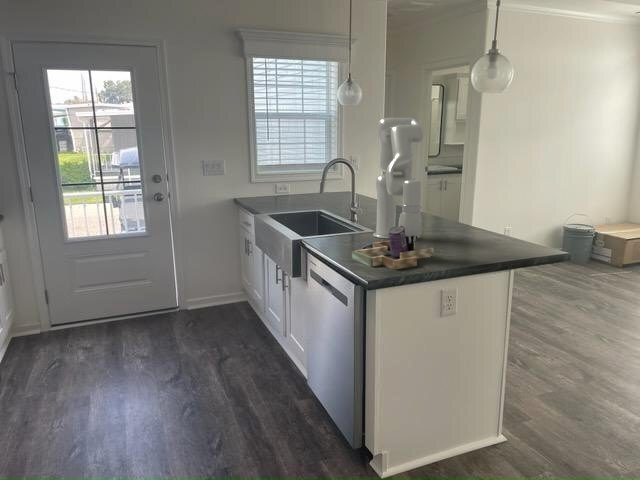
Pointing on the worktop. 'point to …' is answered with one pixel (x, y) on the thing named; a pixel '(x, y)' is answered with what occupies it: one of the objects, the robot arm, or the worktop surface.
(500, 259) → the worktop surface
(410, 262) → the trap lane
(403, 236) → the beverage can
